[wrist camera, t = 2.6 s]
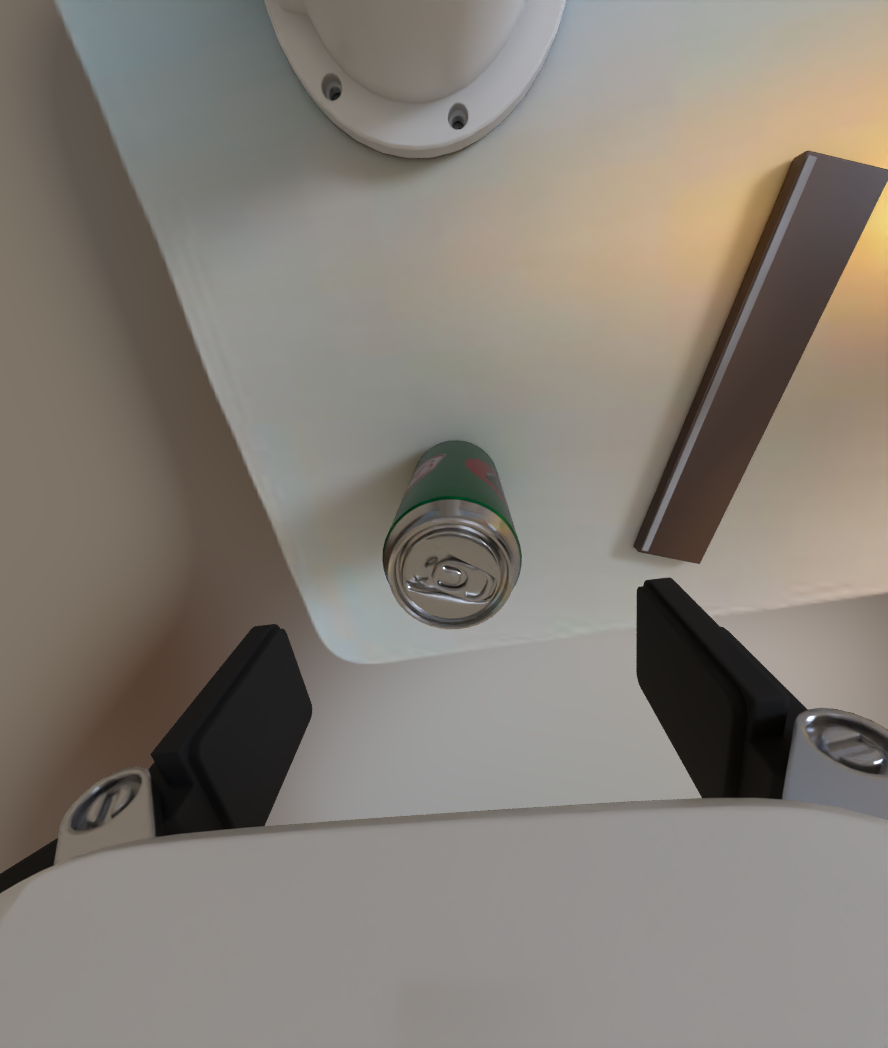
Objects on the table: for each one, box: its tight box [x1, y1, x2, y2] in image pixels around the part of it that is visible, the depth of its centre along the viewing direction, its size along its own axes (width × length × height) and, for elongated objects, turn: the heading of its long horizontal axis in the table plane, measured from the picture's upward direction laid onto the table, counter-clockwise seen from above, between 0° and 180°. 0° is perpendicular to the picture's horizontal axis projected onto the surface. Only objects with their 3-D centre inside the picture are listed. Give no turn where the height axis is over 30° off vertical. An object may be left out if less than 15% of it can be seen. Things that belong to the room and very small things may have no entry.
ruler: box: [634, 151, 888, 564], centre depth 22 cm, size 4×20×1 cm, turn 169°
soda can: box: [383, 440, 522, 629], centre depth 19 cm, size 5×5×12 cm
